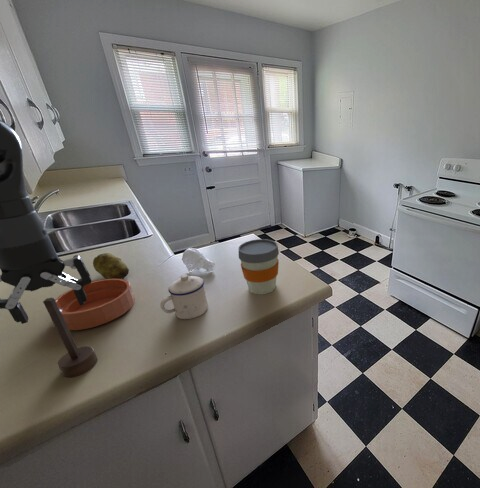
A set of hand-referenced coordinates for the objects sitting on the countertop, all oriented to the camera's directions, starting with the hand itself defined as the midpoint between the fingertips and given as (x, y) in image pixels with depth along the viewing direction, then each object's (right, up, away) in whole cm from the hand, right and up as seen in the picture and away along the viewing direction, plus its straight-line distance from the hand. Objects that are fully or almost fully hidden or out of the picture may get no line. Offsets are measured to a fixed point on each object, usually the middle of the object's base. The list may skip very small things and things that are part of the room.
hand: (55, 312), depth 55 cm
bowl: (-11, -6, +24) cm, 27 cm away
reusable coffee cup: (+34, -1, +36) cm, 50 cm away
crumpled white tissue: (+9, +4, +47) cm, 48 cm away
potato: (-22, +2, +43) cm, 48 cm away
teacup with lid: (+15, -6, +23) cm, 29 cm away
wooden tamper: (0, -14, +6) cm, 15 cm away
